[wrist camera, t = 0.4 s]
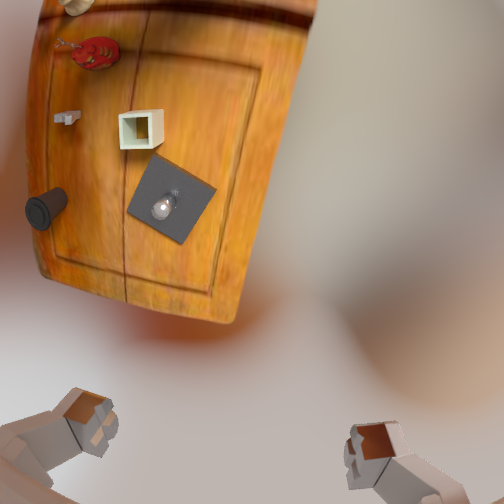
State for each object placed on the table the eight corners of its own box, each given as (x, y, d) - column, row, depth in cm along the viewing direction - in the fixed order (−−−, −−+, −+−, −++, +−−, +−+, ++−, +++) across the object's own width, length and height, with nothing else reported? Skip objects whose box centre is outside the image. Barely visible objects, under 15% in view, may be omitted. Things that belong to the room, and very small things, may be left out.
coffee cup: (46, 180, 57) (20, 197, 48) (71, 184, 57) (45, 202, 49) (49, 210, 61) (25, 229, 52) (73, 215, 61) (50, 236, 53)
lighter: (66, 118, 49) (43, 126, 42) (66, 111, 48) (43, 117, 41) (92, 117, 49) (69, 125, 42) (92, 109, 48) (69, 115, 42)
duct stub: (156, 152, 53) (143, 161, 48) (216, 189, 57) (210, 202, 51) (129, 208, 60) (116, 221, 54) (184, 240, 63) (176, 257, 58)
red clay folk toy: (93, 75, 44) (46, 80, 32) (88, 45, 41) (41, 43, 28) (125, 62, 44) (81, 61, 31) (120, 31, 40) (76, 22, 27)
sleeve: (132, 110, 49) (118, 114, 44) (163, 108, 49) (151, 112, 44) (133, 142, 52) (120, 149, 47) (164, 141, 52) (152, 148, 47)
